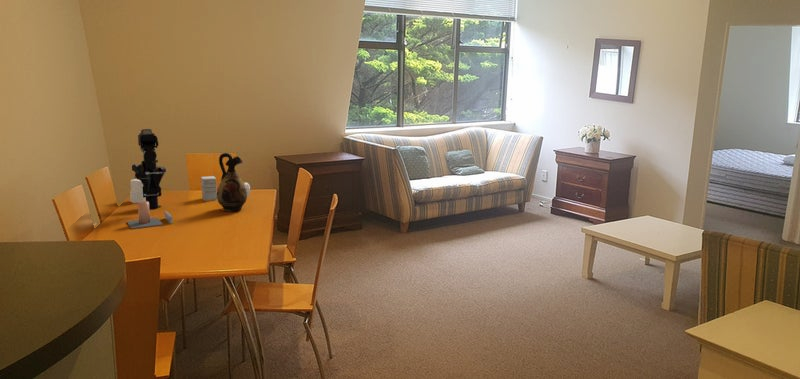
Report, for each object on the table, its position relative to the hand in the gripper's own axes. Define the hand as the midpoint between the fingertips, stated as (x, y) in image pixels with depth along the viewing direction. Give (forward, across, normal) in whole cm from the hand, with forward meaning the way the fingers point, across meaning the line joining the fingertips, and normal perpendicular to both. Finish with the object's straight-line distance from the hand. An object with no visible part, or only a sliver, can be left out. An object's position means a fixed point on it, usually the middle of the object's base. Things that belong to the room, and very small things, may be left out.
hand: (152, 189), depth 299 cm
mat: (+13, +18, +6) cm, 23 cm away
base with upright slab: (+13, -24, -23) cm, 36 cm away
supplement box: (+13, -37, +12) cm, 41 cm away
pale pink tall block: (+12, +18, +6) cm, 23 cm away
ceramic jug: (+13, -17, +34) cm, 40 cm away
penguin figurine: (+13, -44, +27) cm, 53 cm away
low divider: (+13, +11, +14) cm, 22 cm away
